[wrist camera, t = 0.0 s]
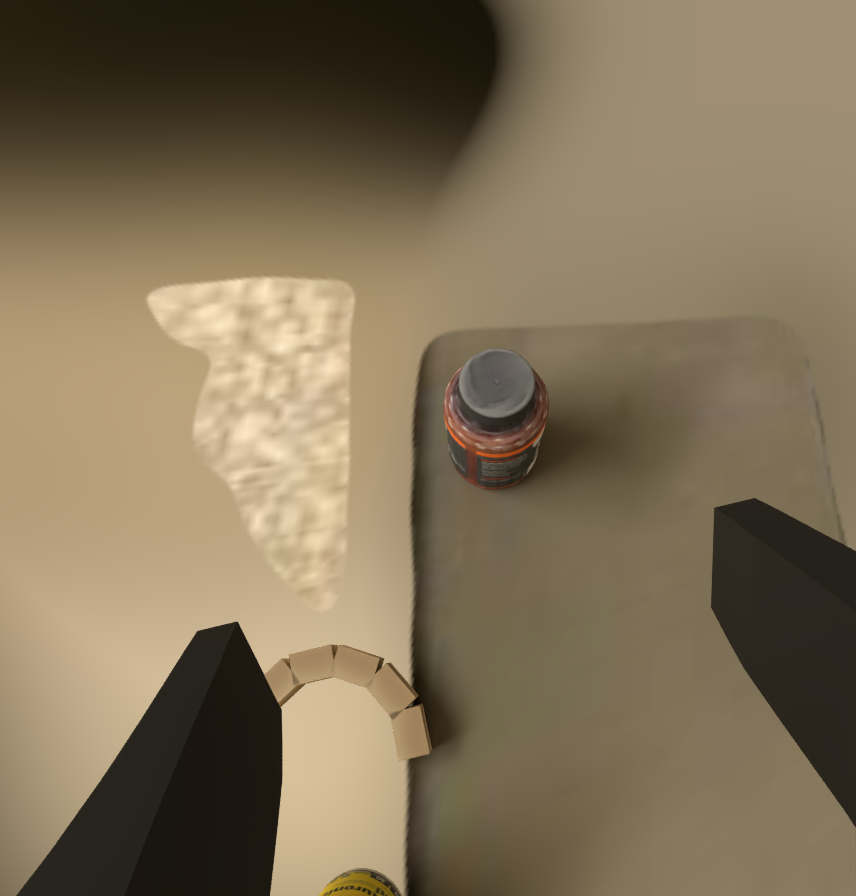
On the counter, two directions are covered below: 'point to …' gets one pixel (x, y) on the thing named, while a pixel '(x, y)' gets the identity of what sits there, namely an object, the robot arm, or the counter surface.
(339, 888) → the supplement bottle
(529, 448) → the supplement bottle
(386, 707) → the oak collar
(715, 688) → the counter surface
